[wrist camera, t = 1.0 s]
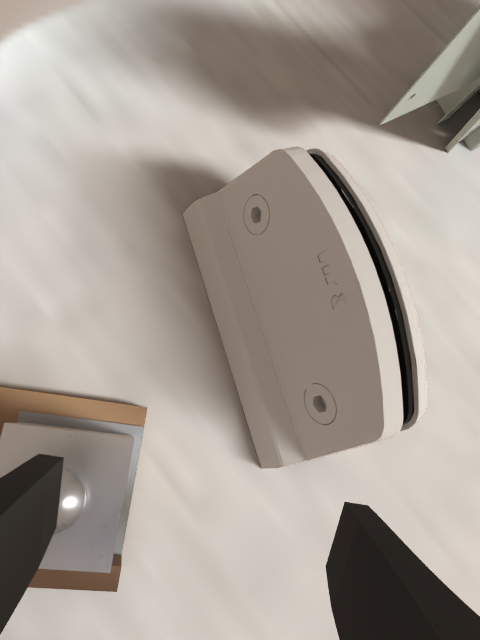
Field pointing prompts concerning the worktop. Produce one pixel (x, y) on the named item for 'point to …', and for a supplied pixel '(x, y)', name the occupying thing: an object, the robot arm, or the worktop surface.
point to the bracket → (449, 82)
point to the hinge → (309, 308)
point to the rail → (87, 416)
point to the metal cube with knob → (77, 489)
